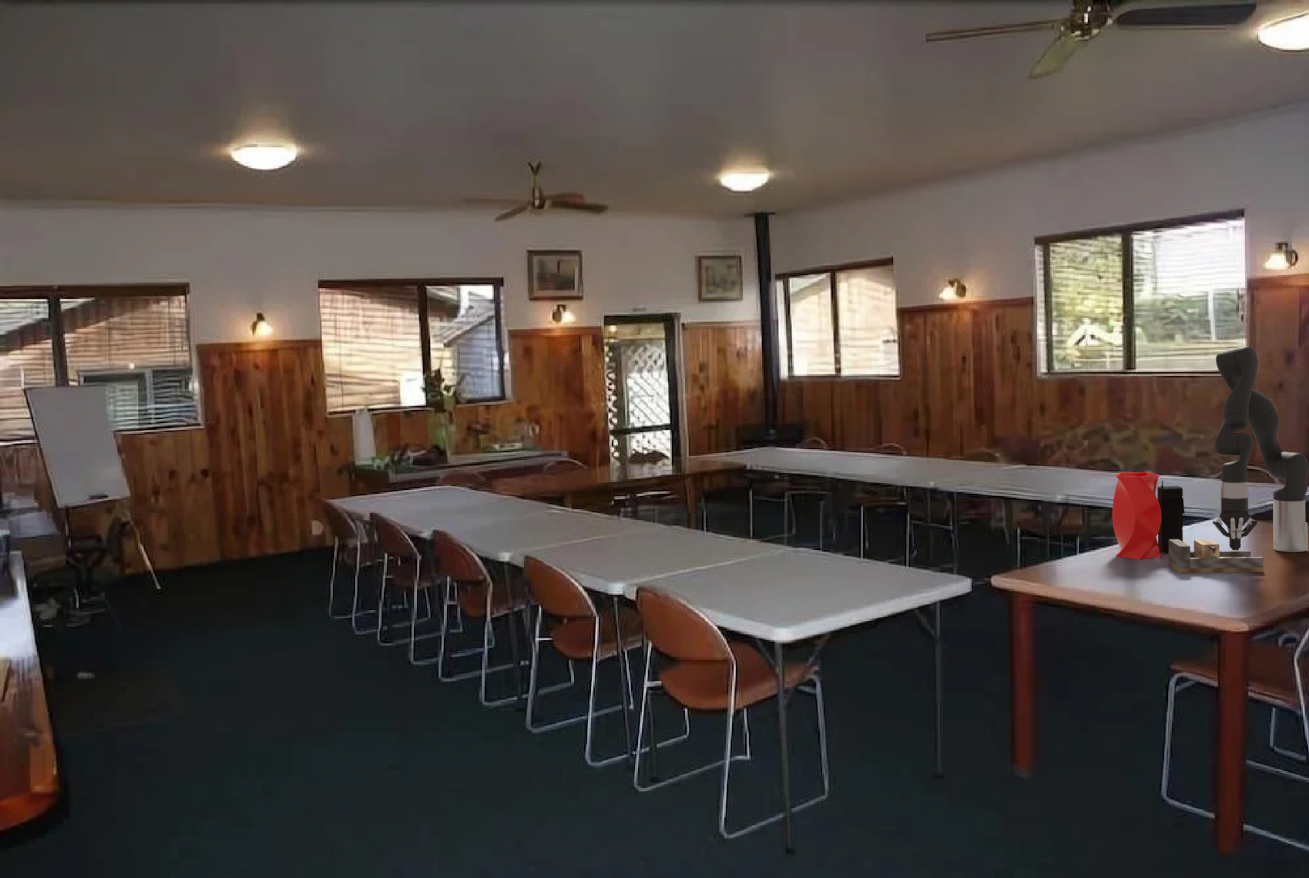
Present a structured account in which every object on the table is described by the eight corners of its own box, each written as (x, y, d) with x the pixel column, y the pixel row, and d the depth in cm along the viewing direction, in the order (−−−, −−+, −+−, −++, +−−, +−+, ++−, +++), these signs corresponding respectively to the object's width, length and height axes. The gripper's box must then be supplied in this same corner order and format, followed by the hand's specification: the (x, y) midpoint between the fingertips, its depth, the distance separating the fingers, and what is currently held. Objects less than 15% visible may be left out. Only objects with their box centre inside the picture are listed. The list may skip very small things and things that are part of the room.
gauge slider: (1210, 560, 336) (1210, 539, 335) (1223, 567, 324) (1223, 546, 324) (1194, 560, 337) (1193, 539, 336) (1205, 568, 325) (1205, 546, 325)
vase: (1164, 559, 349) (1163, 476, 347) (1118, 559, 352) (1116, 477, 350) (1152, 550, 364) (1151, 471, 362) (1108, 551, 367) (1106, 472, 364)
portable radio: (1180, 549, 363) (1179, 478, 361) (1187, 553, 357) (1186, 480, 355) (1156, 550, 364) (1155, 479, 362) (1163, 553, 358) (1162, 481, 356)
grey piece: (1249, 564, 335) (1248, 538, 335) (1263, 572, 324) (1263, 545, 323) (1168, 565, 340) (1168, 539, 339) (1180, 573, 328) (1179, 546, 328)
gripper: (1252, 493, 331) (1253, 547, 333) (1207, 494, 334) (1208, 548, 335) (1261, 496, 324) (1262, 551, 325) (1215, 498, 327) (1216, 552, 328)
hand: (1235, 549), depth 330 cm, fingers closed
